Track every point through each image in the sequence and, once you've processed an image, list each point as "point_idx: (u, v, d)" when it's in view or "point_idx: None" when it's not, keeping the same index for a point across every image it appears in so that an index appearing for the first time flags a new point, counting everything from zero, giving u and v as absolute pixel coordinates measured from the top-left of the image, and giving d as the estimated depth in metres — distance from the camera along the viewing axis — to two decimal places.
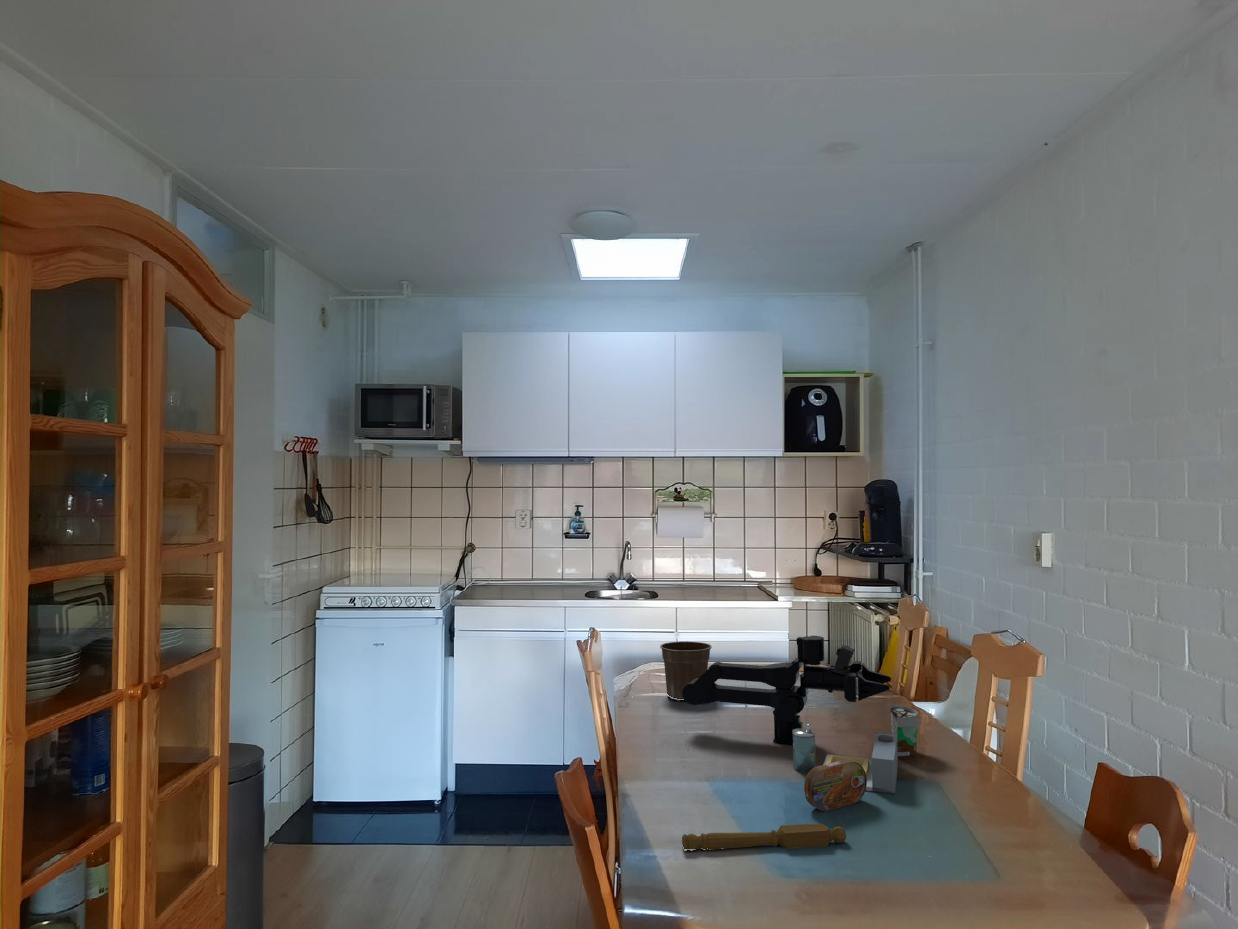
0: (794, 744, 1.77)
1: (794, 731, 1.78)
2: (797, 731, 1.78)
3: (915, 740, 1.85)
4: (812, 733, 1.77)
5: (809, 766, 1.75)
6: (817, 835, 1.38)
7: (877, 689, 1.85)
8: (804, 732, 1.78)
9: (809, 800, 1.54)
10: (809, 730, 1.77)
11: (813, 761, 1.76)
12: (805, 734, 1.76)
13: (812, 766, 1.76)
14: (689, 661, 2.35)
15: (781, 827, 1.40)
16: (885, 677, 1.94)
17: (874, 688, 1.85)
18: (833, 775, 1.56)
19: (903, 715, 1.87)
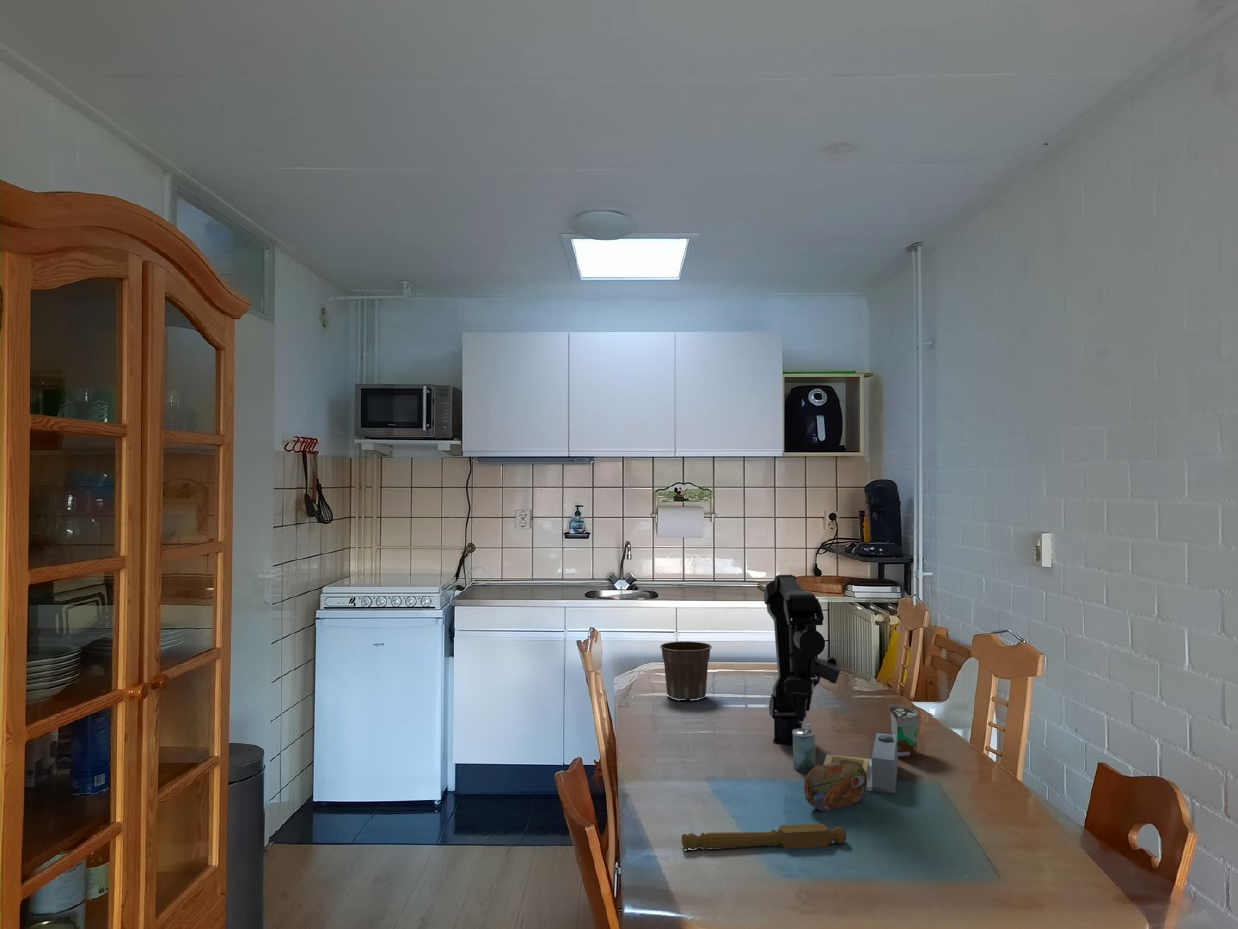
0: (794, 744, 1.77)
1: (794, 731, 1.78)
2: (797, 731, 1.78)
3: (915, 740, 1.85)
4: (812, 733, 1.77)
5: (809, 766, 1.75)
6: (817, 836, 1.38)
7: (798, 710, 1.73)
8: (804, 732, 1.78)
9: (809, 800, 1.54)
10: (809, 730, 1.77)
11: (813, 761, 1.76)
12: (805, 734, 1.76)
13: (812, 766, 1.76)
14: (689, 661, 2.35)
15: (781, 827, 1.40)
16: (808, 705, 1.82)
17: (799, 707, 1.73)
18: (833, 775, 1.56)
19: (903, 715, 1.87)
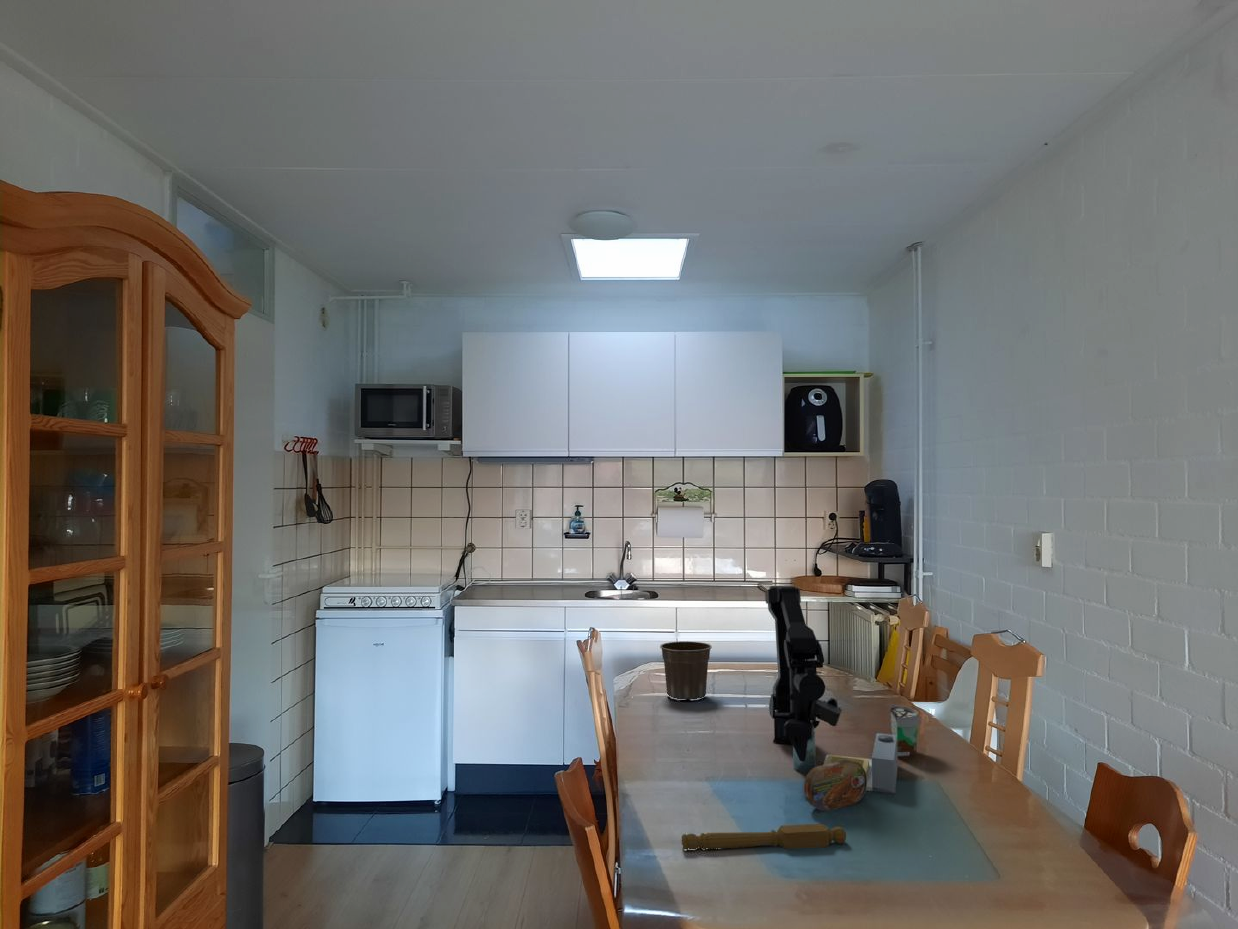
0: None
1: None
2: None
3: (915, 740, 1.85)
4: None
5: (809, 766, 1.75)
6: (817, 836, 1.38)
7: (799, 750, 1.75)
8: None
9: (809, 800, 1.54)
10: None
11: (813, 761, 1.76)
12: None
13: (812, 766, 1.76)
14: (689, 661, 2.35)
15: (781, 827, 1.40)
16: None
17: (800, 748, 1.75)
18: (833, 775, 1.56)
19: (903, 715, 1.87)
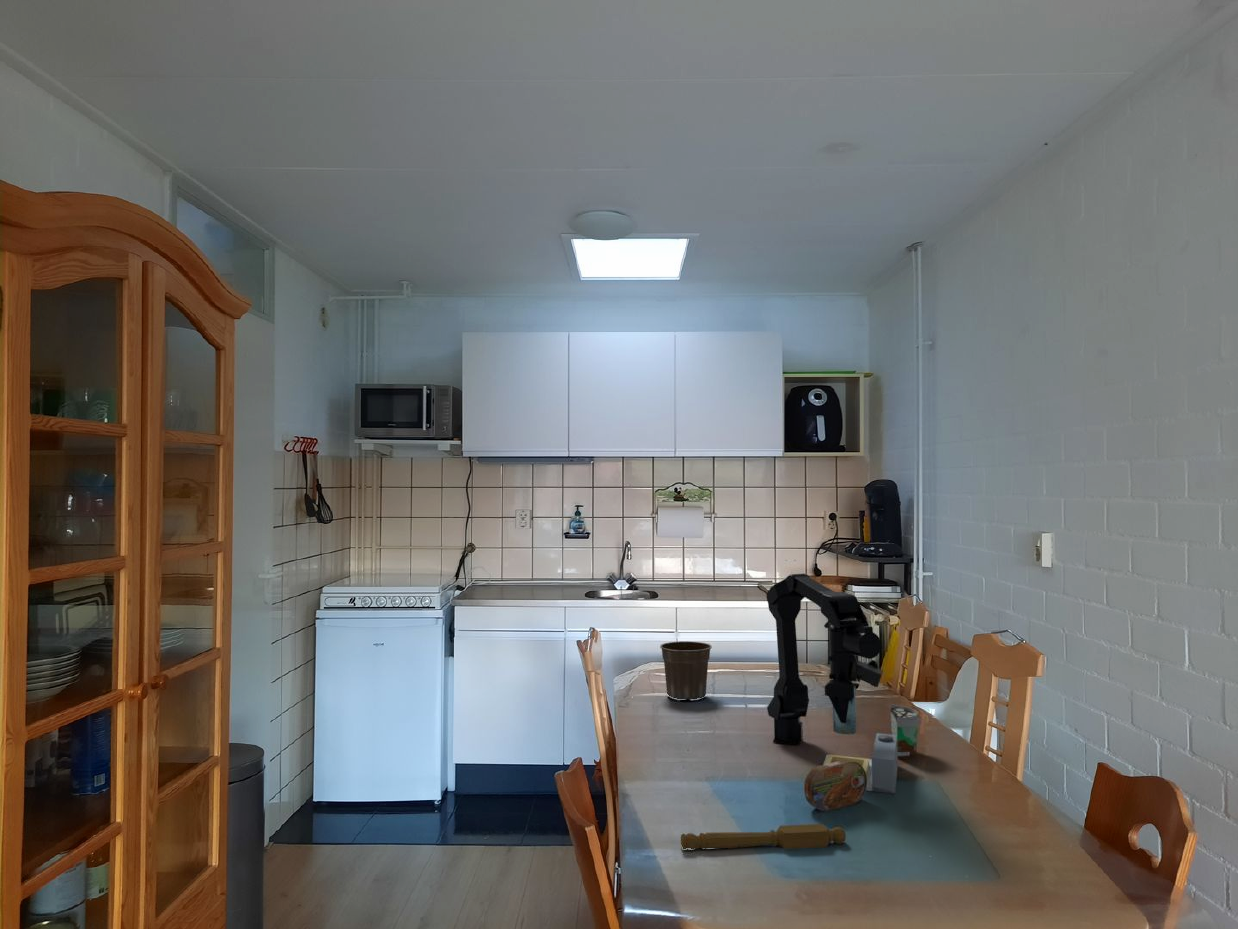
0: None
1: None
2: None
3: (915, 740, 1.85)
4: None
5: (850, 728, 1.72)
6: (816, 836, 1.38)
7: (840, 712, 1.72)
8: None
9: (809, 800, 1.53)
10: None
11: (854, 723, 1.73)
12: None
13: (853, 728, 1.73)
14: (689, 661, 2.35)
15: (780, 827, 1.40)
16: None
17: (841, 709, 1.71)
18: (833, 775, 1.56)
19: (903, 715, 1.87)
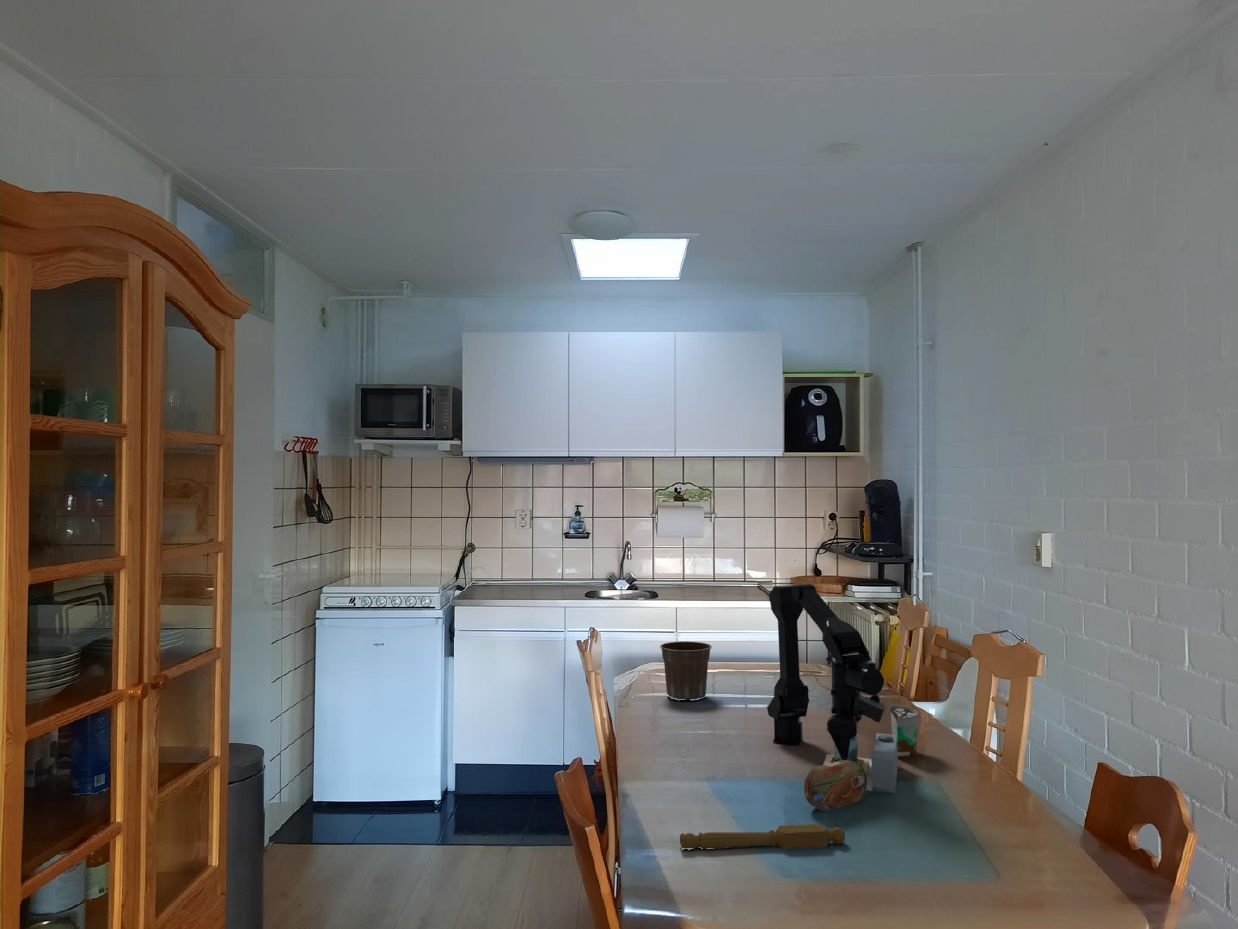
0: None
1: None
2: None
3: (915, 740, 1.85)
4: None
5: None
6: (815, 836, 1.38)
7: (842, 749, 1.70)
8: None
9: (809, 800, 1.54)
10: None
11: None
12: None
13: None
14: (689, 661, 2.35)
15: (779, 827, 1.40)
16: None
17: (843, 746, 1.70)
18: (833, 775, 1.56)
19: (903, 715, 1.87)
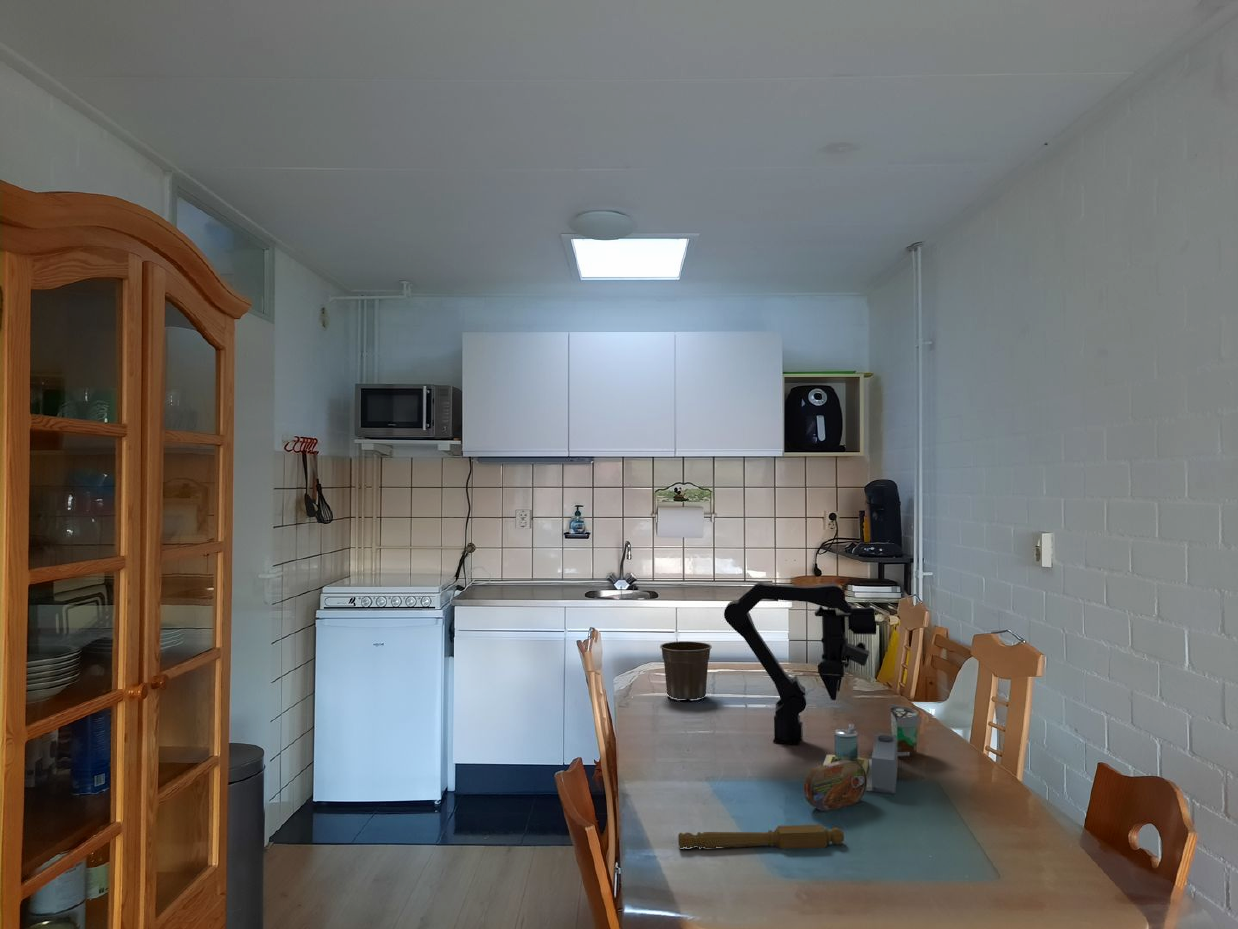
0: (836, 745, 1.74)
1: (836, 731, 1.75)
2: (839, 731, 1.75)
3: (915, 740, 1.85)
4: (855, 733, 1.73)
5: None
6: (814, 837, 1.38)
7: (831, 690, 1.91)
8: (846, 732, 1.74)
9: (809, 800, 1.54)
10: (852, 730, 1.74)
11: None
12: (848, 734, 1.73)
13: None
14: (689, 661, 2.35)
15: (778, 827, 1.40)
16: (838, 686, 2.00)
17: (832, 687, 1.91)
18: (833, 775, 1.56)
19: (903, 715, 1.87)
